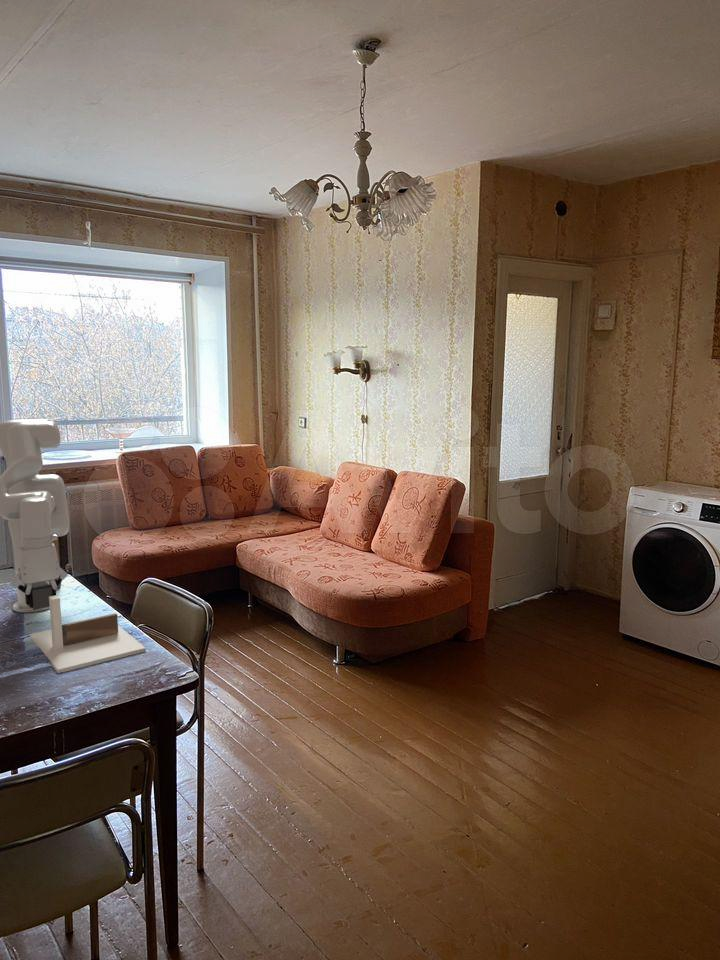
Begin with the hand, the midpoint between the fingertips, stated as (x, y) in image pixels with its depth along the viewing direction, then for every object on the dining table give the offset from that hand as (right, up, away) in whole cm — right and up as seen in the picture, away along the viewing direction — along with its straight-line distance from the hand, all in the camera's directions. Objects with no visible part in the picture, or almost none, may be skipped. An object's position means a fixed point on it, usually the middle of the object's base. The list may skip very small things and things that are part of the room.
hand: (41, 603), depth 196 cm
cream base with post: (+13, -11, -2) cm, 17 cm away
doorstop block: (-1, 0, +2) cm, 2 cm away
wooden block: (-21, -3, +49) cm, 54 cm away
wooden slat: (+14, -10, -1) cm, 17 cm away
